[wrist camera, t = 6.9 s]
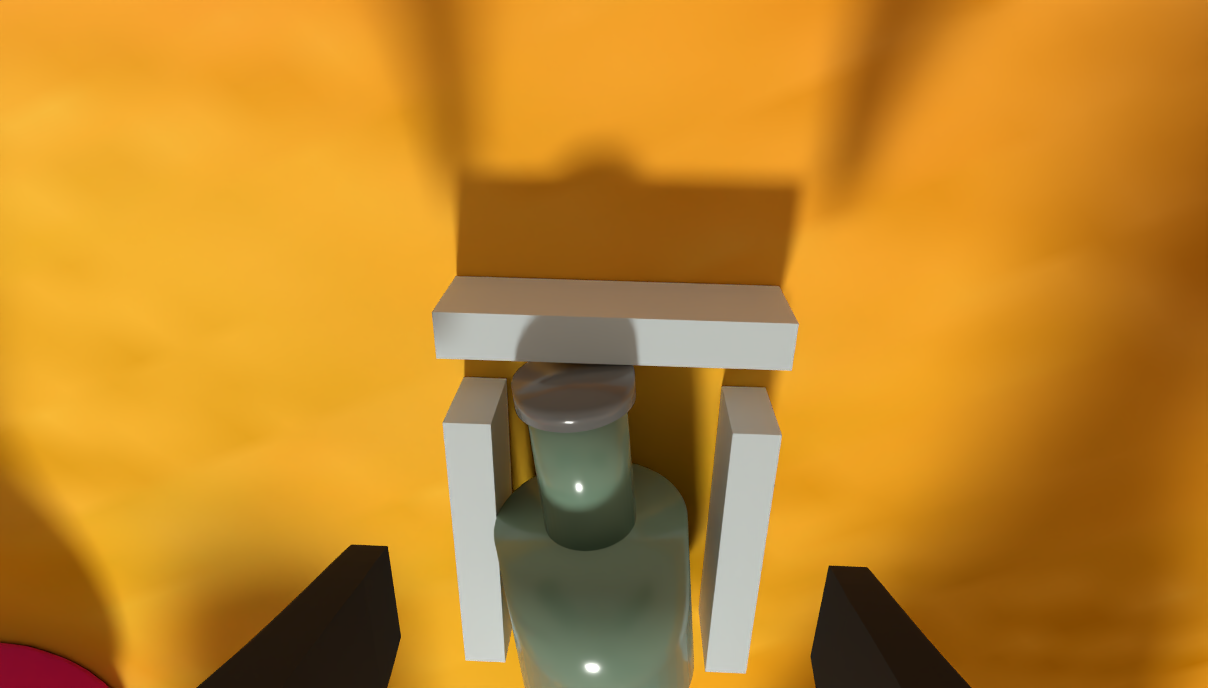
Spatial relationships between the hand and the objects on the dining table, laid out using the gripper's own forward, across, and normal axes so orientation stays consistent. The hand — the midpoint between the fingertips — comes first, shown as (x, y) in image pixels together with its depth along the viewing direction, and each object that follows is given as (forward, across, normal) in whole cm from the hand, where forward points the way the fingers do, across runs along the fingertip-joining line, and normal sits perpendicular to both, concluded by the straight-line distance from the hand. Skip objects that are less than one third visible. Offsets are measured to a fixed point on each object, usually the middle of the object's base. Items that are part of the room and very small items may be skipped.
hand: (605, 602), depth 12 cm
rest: (+6, 0, +2) cm, 6 cm away
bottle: (+4, 0, +6) cm, 7 cm away
